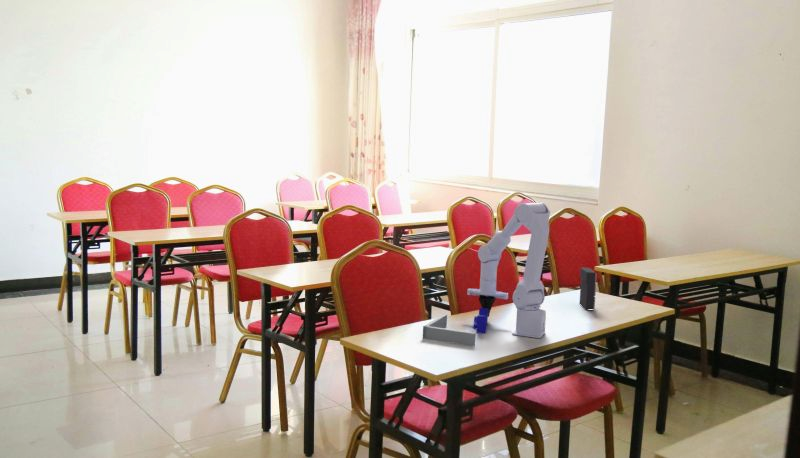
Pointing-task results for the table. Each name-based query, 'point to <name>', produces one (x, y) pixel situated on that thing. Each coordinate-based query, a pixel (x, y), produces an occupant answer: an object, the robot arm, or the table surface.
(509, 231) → the robot arm
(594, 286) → the dark grey rectangular block
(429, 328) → the corner bracket
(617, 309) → the table surface
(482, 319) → the cable clip
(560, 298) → the table surface
